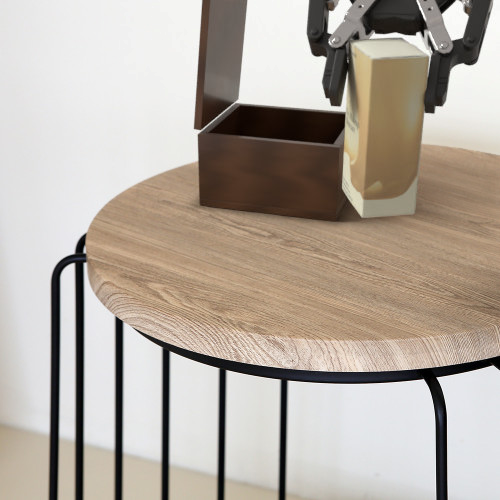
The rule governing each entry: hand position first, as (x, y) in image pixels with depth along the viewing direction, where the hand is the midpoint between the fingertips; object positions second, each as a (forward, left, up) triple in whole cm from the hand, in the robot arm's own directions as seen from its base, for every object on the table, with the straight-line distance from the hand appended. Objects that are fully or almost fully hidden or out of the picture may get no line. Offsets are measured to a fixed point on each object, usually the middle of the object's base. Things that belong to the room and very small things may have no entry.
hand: (381, 104), depth 58 cm
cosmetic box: (0, -2, -9) cm, 9 cm away
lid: (+19, -23, -1) cm, 30 cm away
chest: (+13, -23, -17) cm, 31 cm away
